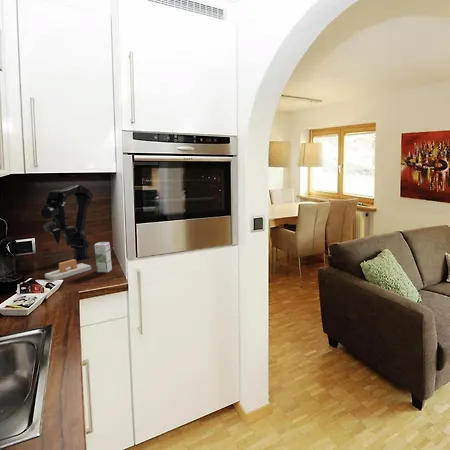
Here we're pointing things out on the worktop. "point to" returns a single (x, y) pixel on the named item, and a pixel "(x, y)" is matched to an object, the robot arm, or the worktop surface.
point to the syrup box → (103, 256)
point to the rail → (67, 272)
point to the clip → (67, 265)
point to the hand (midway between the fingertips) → (63, 244)
